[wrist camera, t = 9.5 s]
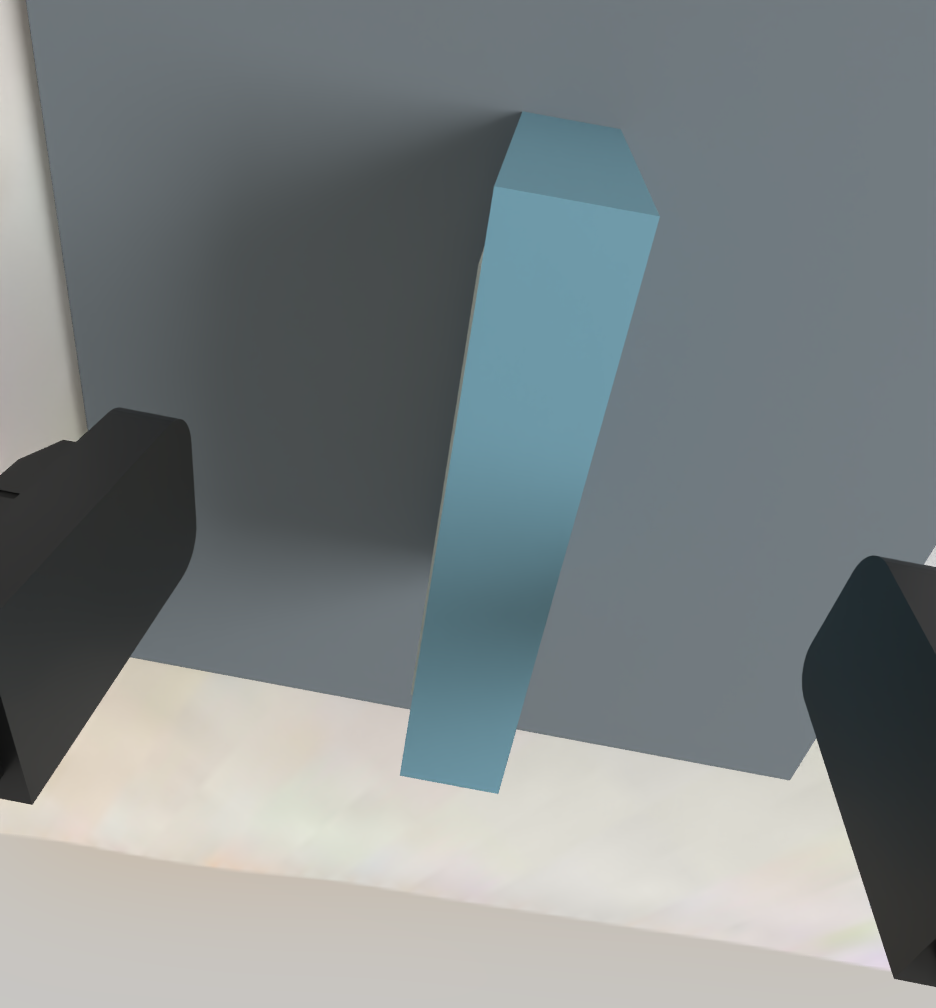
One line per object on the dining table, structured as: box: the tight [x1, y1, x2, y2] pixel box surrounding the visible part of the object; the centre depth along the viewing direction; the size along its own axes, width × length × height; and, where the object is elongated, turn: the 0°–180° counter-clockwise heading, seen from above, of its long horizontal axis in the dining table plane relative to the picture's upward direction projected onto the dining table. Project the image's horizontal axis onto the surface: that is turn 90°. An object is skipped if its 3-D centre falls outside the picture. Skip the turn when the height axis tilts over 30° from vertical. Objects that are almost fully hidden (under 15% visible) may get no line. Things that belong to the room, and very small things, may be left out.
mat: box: [26, 0, 936, 780], centre depth 15 cm, size 20×18×1 cm
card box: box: [400, 111, 660, 794], centre depth 12 cm, size 9×2×6 cm, turn 172°
